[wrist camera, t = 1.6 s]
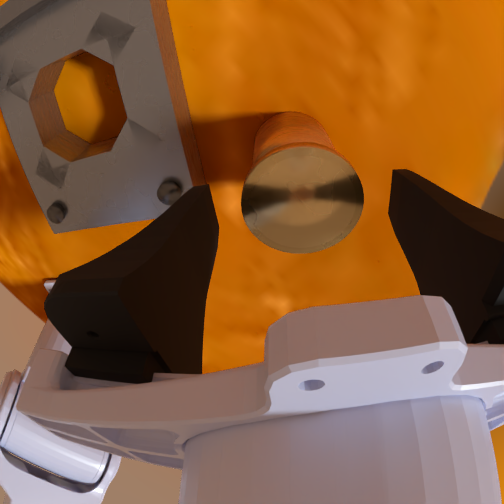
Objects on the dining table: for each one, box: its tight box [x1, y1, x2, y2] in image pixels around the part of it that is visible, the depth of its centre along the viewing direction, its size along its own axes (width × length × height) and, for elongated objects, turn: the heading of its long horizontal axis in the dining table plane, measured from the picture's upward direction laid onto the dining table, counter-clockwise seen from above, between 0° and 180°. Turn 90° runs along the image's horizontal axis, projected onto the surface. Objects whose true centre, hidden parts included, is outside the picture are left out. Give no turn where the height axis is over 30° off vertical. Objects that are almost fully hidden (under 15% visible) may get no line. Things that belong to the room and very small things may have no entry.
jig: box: [0, 0, 206, 234], centre depth 12 cm, size 14×10×4 cm
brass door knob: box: [241, 112, 364, 253], centre depth 14 cm, size 5×5×6 cm
